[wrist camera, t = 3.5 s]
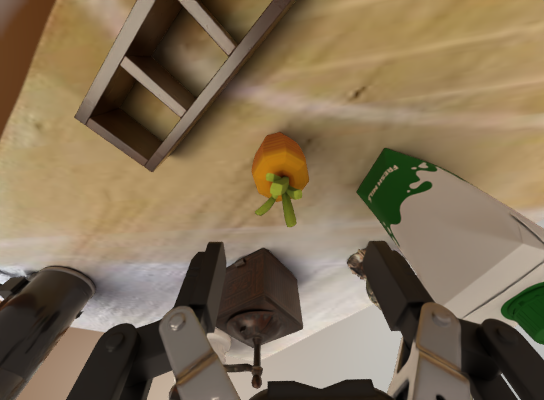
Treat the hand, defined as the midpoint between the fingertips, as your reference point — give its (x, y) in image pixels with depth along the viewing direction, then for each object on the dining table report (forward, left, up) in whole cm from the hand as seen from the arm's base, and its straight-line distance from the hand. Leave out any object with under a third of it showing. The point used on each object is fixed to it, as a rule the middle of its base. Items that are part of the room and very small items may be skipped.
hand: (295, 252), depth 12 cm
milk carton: (+16, -5, -18) cm, 25 cm away
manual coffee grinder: (-5, -26, -18) cm, 32 cm away
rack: (-9, +9, -18) cm, 22 cm away
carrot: (0, +1, -18) cm, 18 cm away
